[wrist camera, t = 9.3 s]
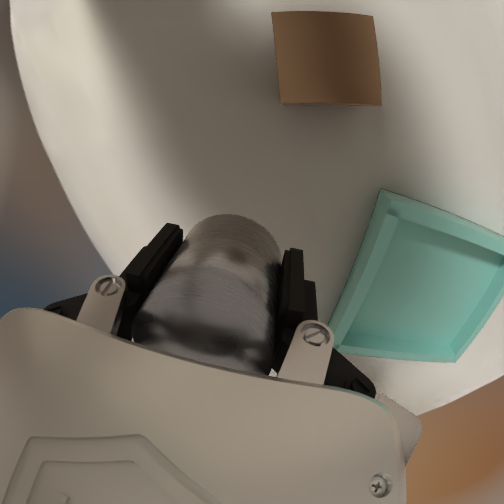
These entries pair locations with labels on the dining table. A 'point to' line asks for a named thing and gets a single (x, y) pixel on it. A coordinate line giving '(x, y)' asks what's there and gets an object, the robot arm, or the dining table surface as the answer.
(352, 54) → the walnut block
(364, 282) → the tray
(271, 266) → the grey metal cylinder
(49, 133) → the dining table surface
